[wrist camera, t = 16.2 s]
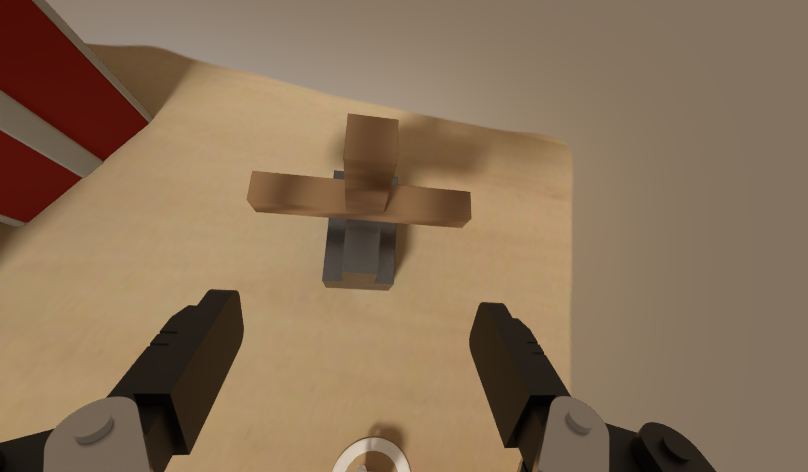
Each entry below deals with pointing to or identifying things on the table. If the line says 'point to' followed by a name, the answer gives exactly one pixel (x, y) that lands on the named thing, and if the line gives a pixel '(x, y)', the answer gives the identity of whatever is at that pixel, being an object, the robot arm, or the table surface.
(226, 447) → the table surface
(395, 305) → the table surface
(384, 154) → the wooden t-shaped block
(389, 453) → the teacup and saucer
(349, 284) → the gray metal t-shaped block
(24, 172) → the red-striped tombstone block
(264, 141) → the table surface
